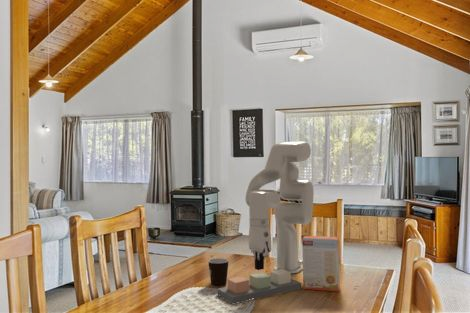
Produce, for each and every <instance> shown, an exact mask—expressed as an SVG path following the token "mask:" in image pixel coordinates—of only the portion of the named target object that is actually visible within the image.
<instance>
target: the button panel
mask: <svg viewBox="0 0 470 313" xmlns="http://www.w3.org/2000/svg"><path fill="white" fill-rule="evenodd" d="M298 290H302V282H300V281H298V280H295V279H293V278H291V282H290V283H286V284H281V285H278V284H275V283H273V282H271V287H266V288H261V289H256V288H254V287H252V286H250V281H249V291H247V292H242V293H237V294H235V293H233V292H231V291H229V290H228V286H222V287H217V290H216V292H217V294H218V295H220V296H221V298H222V297H223V298H224V299H223V298H222V299H223V300H225V299H226V300H225V301H227V300H228V301H227V302H229V303H230V302H231V303H230V304H232V303H235V304H238V303H237V302H240V303H243V302H242V301H244V302H247V301H246V300H249V299H252V298H254V300H257V299H263V298H267V297H271V296H275V295H279V294H285V293H290V292H293V291H298ZM218 295H217V296H218ZM220 296H219V297H220ZM249 301H250V300H249Z"/></svg>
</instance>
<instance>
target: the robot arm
mask: <svg viewBox="0 0 470 313" xmlns="http://www.w3.org/2000/svg"><path fill="white" fill-rule="evenodd" d="M311 151H312V149H311V145H310V144H309V143H308V142H307V141H284V142H283V141H282V142H278V143H275V144H274V145H273V146H271V148H270V152H269V154H268V158H267V160H266V164H265V166H264V169H262V170H261V171H260V172H258V173H257V174H256V175H255V176H253V178H251V180H250V182H249V184H248V187H247V188H246V193H245V204H246V205H247V206H248V208H249V210H248V213H249V214H248V215H249V228H248V229H249V231H248V248H249V250H250V253H252V254H253V258H254V269H255V270H257V271H260V270H264V269H265V262H264V261H265V259H266V257H268V256H269V253H270V252H272V236H271V235H272V234H271V230H270V227H269V224H270V223H269V209H273V210H274V213H273V214H274V218H275V225H276V226H275V227H276V265H275V266H273V271H274V270H279V269H283V270H286V271H289V272H291V275H293V274H298V273H301V271H302V267H301V265H303V259H302V260H301V259H299V258H298V252H299V251H298V231H297V229H296V227H295V226H294V224H295V225H296V224H298V225H308V224H310V223H311V222H312V219H313V211H314V210H313V209H314V195H315V194H314V193H315V192H314V186H313V183H312V182H311V181H310V180H308V179H299V174H300V170H299V168H298V166H297V164H296V163H301V162H304V161H307V160H308V159H309V158H310V156H311ZM278 180H279V191H277V190H273V189H261V188H262V187H263V186H265V185H267V184H270V183H274V182H276V181H278ZM281 200H287V201H301V202H281Z"/></svg>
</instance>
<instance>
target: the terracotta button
mask: <svg viewBox="0 0 470 313" xmlns="http://www.w3.org/2000/svg"><path fill="white" fill-rule="evenodd" d="M249 282H250V279H247V278H245V277H243V276H236V277H232V278H231V277H230V278H227V287H228V290H229V291H231V292H233V293H235V294H237V293H242V292H247V291H249Z"/></svg>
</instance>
